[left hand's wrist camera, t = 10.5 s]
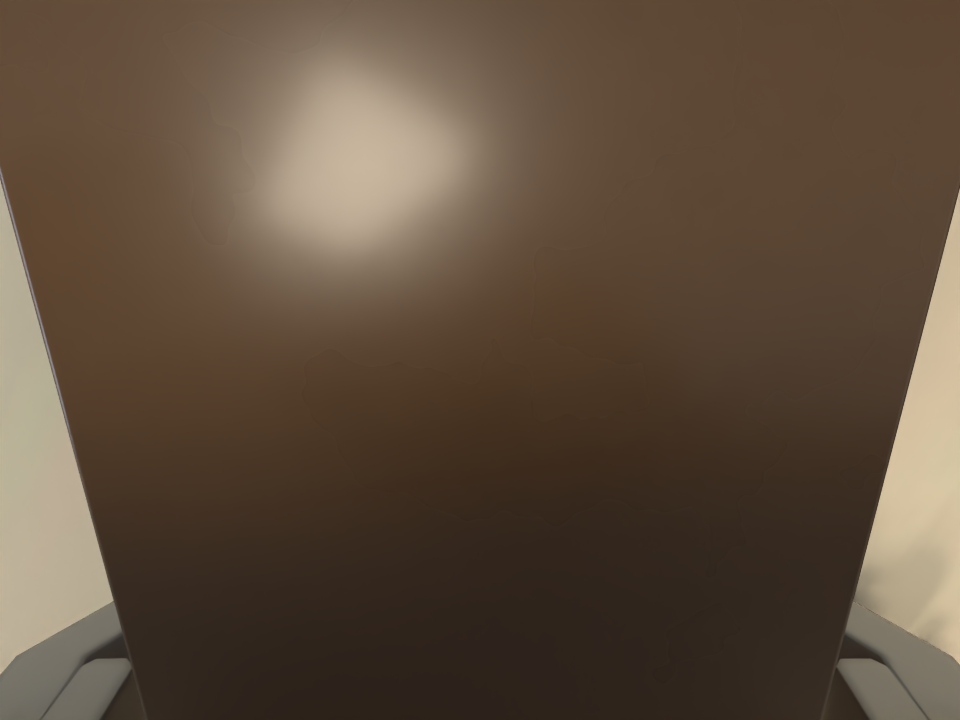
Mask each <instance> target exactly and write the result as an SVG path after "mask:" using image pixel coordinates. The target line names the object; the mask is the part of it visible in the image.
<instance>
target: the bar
mask: <svg viewBox="0 0 960 720" xmlns="http://www.w3.org/2000/svg"><path fill="white" fill-rule="evenodd" d="M0 180H1V184H2V187H3V191H4V195H5V199H6V202H7V206H8V210H9V213H10V217H11V221H12V225H13V228H14V232H15V236H16V239H17V243H18V247H19V251H20V254H21V258H22V262H23V265H24V269H25V273H26V277H27V280H28V284H29V288H30V291H31V295H32V299H33V303H34V306H35V310H36V314H37V317H38V321H39V325H40V329H41V332H42V336H43V340H44V343H45V347H46V351H47V355H48V358H49V362H50V366H51V369H52V373H53V377H54V381H55V384H56V388H57V392H58V395H59V399H60V403H61V407H62V410H63V414H64V418H65V421H66V425H67V429H68V433H69V436H70V440H71V444H72V447H73V451H74V455H75V459H76V462H77V466H78V470H79V473H80V477H81V481H82V485H83V488H84V492H85V496H86V499H87V503H88V507H89V511H90V514H91V518H92V522H93V525H94V529H95V533H96V537H97V540H98V544H99V548H100V551H101V555H102V559H103V563H104V566H105V570H106V574H107V577H108V581H109V585H110V589H111V592H112V596H113V600H114V603H115V607H116V611H117V615H118V618H119V622H120V626H121V629H122V633H123V637H124V641H125V644H126V648H127V652H128V655H129V659H130V663H131V667H132V670H133V674H134V678H135V681H136V685H137V689H138V693H139V696H140V700H141V704H142V707H143V711H144V715H145V719H146V720H822V719H823V715H824V711H825V707H826V703H827V699H828V696H829V692H830V688H831V684H832V680H833V676H834V672H835V668H836V665H837V661H838V657H839V653H840V649H841V645H842V641H843V638H844V634H845V630H846V626H847V622H848V618H849V614H850V610H851V607H852V603H853V599H854V595H855V591H856V587H857V583H858V580H859V576H860V572H861V568H862V564H863V560H864V556H865V552H866V549H867V545H868V541H869V537H870V533H871V529H872V525H873V522H874V518H875V514H876V510H877V506H878V502H879V498H880V495H881V491H882V487H883V483H884V479H885V475H886V471H887V467H888V464H889V460H890V456H891V452H892V448H893V444H894V440H895V437H896V433H897V429H898V425H899V421H900V417H901V413H902V409H903V406H904V402H905V398H906V394H907V390H908V386H909V382H910V379H911V375H912V371H913V367H914V363H915V359H916V355H917V351H918V348H919V344H920V340H921V336H922V332H923V328H924V324H925V321H926V317H927V313H928V309H929V305H930V301H931V297H932V293H933V290H934V286H935V282H936V278H937V274H938V270H939V266H940V263H941V259H942V255H943V251H944V247H945V243H946V239H947V235H948V232H949V228H950V224H951V220H952V216H953V212H954V208H955V205H956V201H957V197H958V193H959V189H960V0H0Z"/></svg>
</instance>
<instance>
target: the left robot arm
mask: <svg viewBox="0 0 960 720" xmlns="http://www.w3.org/2000/svg"><path fill="white" fill-rule="evenodd" d="M0 720H146V719H145V715H144V711H143V707H142V704H141V700H140V696H139V693H138V689H137V685H136V681H135V678H134V674H133V670H132V667H131V663H130V659H129V655H128V652H127V648H126V644H125V641H124V637H123V633H122V629H121V626H120V622H119V618H118V615H117V611H116V607H115V603H114V601H113V602H111V603H110V604H108V605H106V606H104V607H103V608H101V609H99V610H97V611H96V612H94V613H92V614H90V615H88V616H87V617H85V618H83V619H81V620H80V621H78V622H76V623H74V624H73V625H71V626H69V627H67V628H65V629H64V630H62V631H60V632H58V633H57V634H55V635H53V636H51V637H49V638H48V639H46V640H44V641H42V642H41V643H39V644H37V645H35V646H34V647H32V648H30V649H28V650H26V651H25V652H23V653H21V654H19V655H18V656H16V658H15V659H14V660H13V661H12V662H11V663H10V664H9V666H8V667H7V668H6V669H5V670H4V671H3V672H2V674H1V675H0ZM822 720H960V665H959V664H958V662H957V661H956V660H955V659H954V658H953V657H952V656H950V655H948V654H947V653H945V652H943V651H941V650H939V649H938V648H936V647H934V646H932V645H931V644H929V643H927V642H925V641H923V640H922V639H920V638H918V637H916V636H915V635H913V634H911V633H909V632H907V631H906V630H904V629H902V628H900V627H898V626H897V625H895V624H893V623H891V622H890V621H888V620H886V619H884V618H882V617H881V616H879V615H877V614H875V613H874V612H872V611H870V610H868V609H866V608H865V607H863V606H861V605H859V604H857V603H856V602H854V601H853V603H852V607H851V610H850V614H849V618H848V622H847V626H846V630H845V634H844V638H843V641H842V645H841V649H840V653H839V657H838V661H837V665H836V668H835V672H834V676H833V680H832V684H831V688H830V692H829V696H828V699H827V703H826V707H825V711H824V715H823V719H822Z"/></svg>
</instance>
